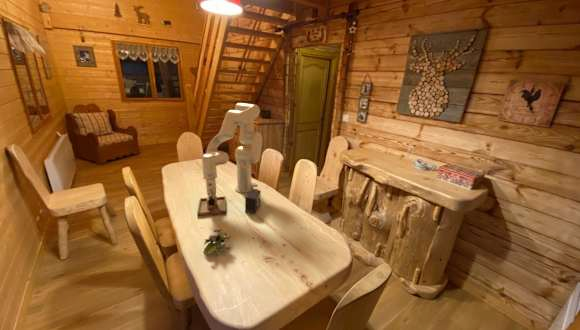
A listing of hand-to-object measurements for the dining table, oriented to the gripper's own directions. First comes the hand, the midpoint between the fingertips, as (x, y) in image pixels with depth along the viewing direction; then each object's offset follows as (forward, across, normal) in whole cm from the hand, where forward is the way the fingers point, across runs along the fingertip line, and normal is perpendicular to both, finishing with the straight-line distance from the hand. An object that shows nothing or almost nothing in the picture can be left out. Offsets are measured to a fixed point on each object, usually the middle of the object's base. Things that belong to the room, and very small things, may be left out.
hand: (212, 201), depth 143 cm
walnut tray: (+4, 0, 0) cm, 4 cm away
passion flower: (+5, -39, -4) cm, 40 cm away
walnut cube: (+3, 0, 0) cm, 3 cm away
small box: (+5, -6, -24) cm, 25 cm away
